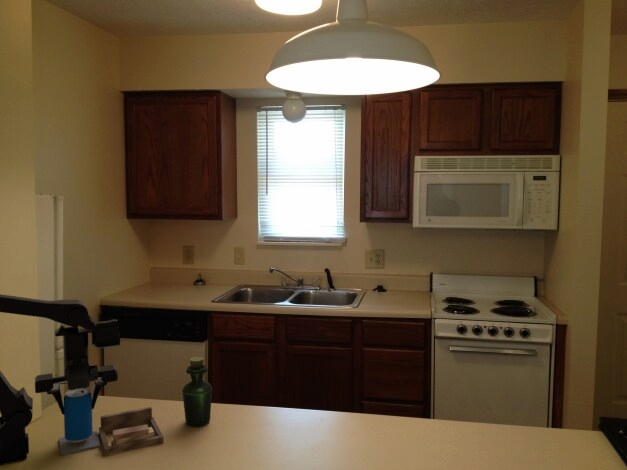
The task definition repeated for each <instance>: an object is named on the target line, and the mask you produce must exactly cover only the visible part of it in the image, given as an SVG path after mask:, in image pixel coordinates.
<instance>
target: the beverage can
mask: <svg viewBox="0 0 627 470" xmlns="http://www.w3.org/2000/svg"><path fill="white" fill-rule="evenodd" d="M62 400H63V406H64V414H63V423H64V424H63V426H64V428H63V429H64V430H63V431H64V437H65V439H66V440H68V441H69V442H73V443H76V442H82V441H85V440H87V439H88V438H89V437H90V436H91V435H92V434H93V431H94V430H93V429H94V428H93V409H92V392H91V391H90V389H89V388H88V387H87V388H78V389H75V390H69V389H68V391H66V392H65V394H64V397H63V398H62Z"/></svg>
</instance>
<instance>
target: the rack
mask: <svg viewBox="0 0 627 470" xmlns="http://www.w3.org/2000/svg"><path fill="white" fill-rule="evenodd" d="M141 425H148V426H149V425H150V427H152V429H153V430H154V434H155V437H151V438H146V439H142V440H137V441H132V442H128V443H123V444H118V445H114V446H111V445H110V446H109V443H108V440H107V435H106V434H109V433H113V430H118V429H124V428H129V427H135V426H141ZM98 436H99V439H100V441H101V442H100V443H101V446H102V450H103V453H104V456H110V455H112V454H117V453H120V452H125V451H130V450H136V449H139V448H140V449H141V448H144V447H147V446H148V447H149V446H153V445H158V444H164V443H165V438H164V435H163V433H162V431H161V429H160V427H159V426H158V424H157V421H156V420H155V418H154V417H153V409H152V406H148V407H142V408H138V409H137V408H136V409H132V410H127V411H121V412H116V413H115V412H114V413H111V414H105V415H100V426H99V427H98Z"/></svg>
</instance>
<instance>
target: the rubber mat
mask: <svg viewBox="0 0 627 470" xmlns="http://www.w3.org/2000/svg"><path fill="white" fill-rule="evenodd" d="M58 441H59V451H60V456H64V455H68V454H74V453H78V452H79V453H80V452H83V451H87V450H93V449H98V448H101V446H102V445H101V442H100V441H101V440H100V437H99V433H98V431H97V430H93V434H92V435H91V436H90V437H89V438H88V439H87V440H85V441H82V442H76V443H73V442H69V441H68V440H66V439H65V436H63V437H59V438H58Z"/></svg>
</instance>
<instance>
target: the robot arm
mask: <svg viewBox="0 0 627 470" xmlns="http://www.w3.org/2000/svg"><path fill="white" fill-rule="evenodd" d="M0 313H3V314H4V313H5V314H13V315H20V316H29V317H37V318H45V319H48V320H51V321H54V322H56V323H58V324H60V325H59V327H58V328H57V329H56V330H54V336H55V337H62V339H63V340H62V343H63V346H62V347H63V368H64V369H63V370H64V372H63V373H64V375H60V376H54V375H53V373H45V374H37V375H36V376H35V377H34V391H35V392H34V393H35V394H41V393H46V395H52V396H53V397H54V399H55V401H56V403H57V405H58V408H59V410H60V412H61V414H62V415H63V416H64V400H63V396H62V391H61V385H65V384H67V389H68V391H69V390H75V389H78V388H87V389H88V388H89V387H90V385H91V382H92V387H91V395H92V410H94V409H95V406H96V403H97V400H98V397H99V394H100V392H101V391H102V388H104V386H107V385H108V383H111V382H117V381H118V380H119V376H118V375H119V372H118V369H117V368H116V366H115V365H114V364H109V365H102V366H98V365H97V364H94V365H90V356H89V355H90V353H89V352H90V350H89V334H90V344H91V345H90V346H94V347H95V348H96V349H104V348H111V347H113V348H114V347H120V346H121V334H120V328H119V327H120V326H119V321H118V319H110V320H106V321H105V320H104V321H96V322H95V320H94V318H93V317H91V316H90V315H89V310H88V308H87V306H86V304H85V303H84V302H83V301H81V300H79V299H59V300H42V299H38V298H37V299H36V298H29V297H21V296H17V295H9V294H8V295H7V294H0ZM66 326H67V327H66ZM80 327H81V328H80ZM33 402H34V399H33V397H31V396H30V395H28V393H27V391H26V388H25V387H21V388H20V389H17V388H16V387H14V386H12V384H11V383H10V381H8V379H7V378H6V376H5V375H4V373H3V372H2V371H1V370H0V466H1V465H7V464H12V463H16V462H22V461H25V460H27V457H28V455H29V453H30V445H29V444H30V441H29V439H30V438H29V437H30V436H29V433H28V432H26V427H28V426H29V425H30V424H31V422H32V420H33V416H34V415H33V410H34V409H33V408H34V407H33V404H34V403H33Z"/></svg>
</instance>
